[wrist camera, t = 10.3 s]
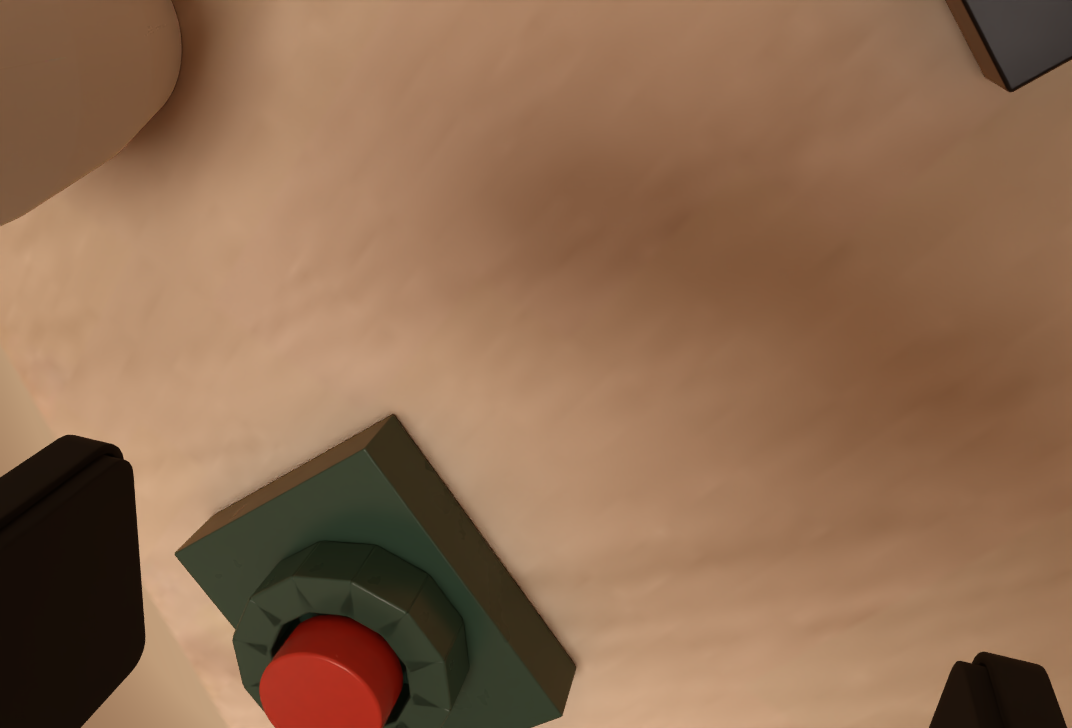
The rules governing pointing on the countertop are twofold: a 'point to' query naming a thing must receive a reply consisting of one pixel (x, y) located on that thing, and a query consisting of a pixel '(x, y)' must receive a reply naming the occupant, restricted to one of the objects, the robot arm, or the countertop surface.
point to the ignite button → (331, 677)
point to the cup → (77, 88)
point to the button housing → (383, 584)
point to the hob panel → (1016, 37)
